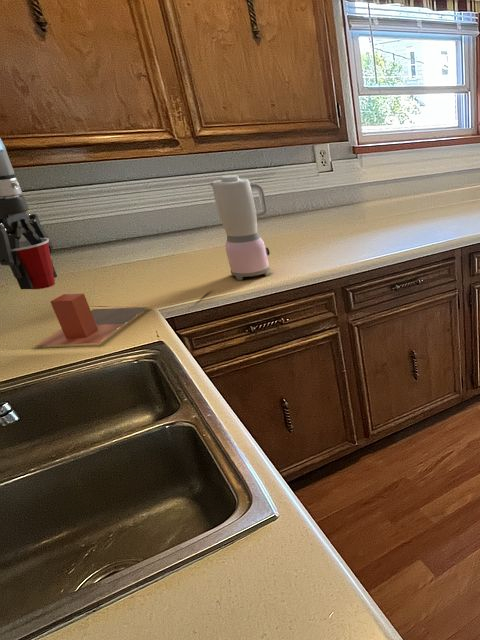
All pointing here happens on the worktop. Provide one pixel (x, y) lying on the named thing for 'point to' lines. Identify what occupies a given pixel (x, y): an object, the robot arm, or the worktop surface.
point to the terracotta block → (74, 315)
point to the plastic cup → (37, 263)
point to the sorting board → (105, 323)
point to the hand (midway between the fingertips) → (39, 282)
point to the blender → (241, 225)
